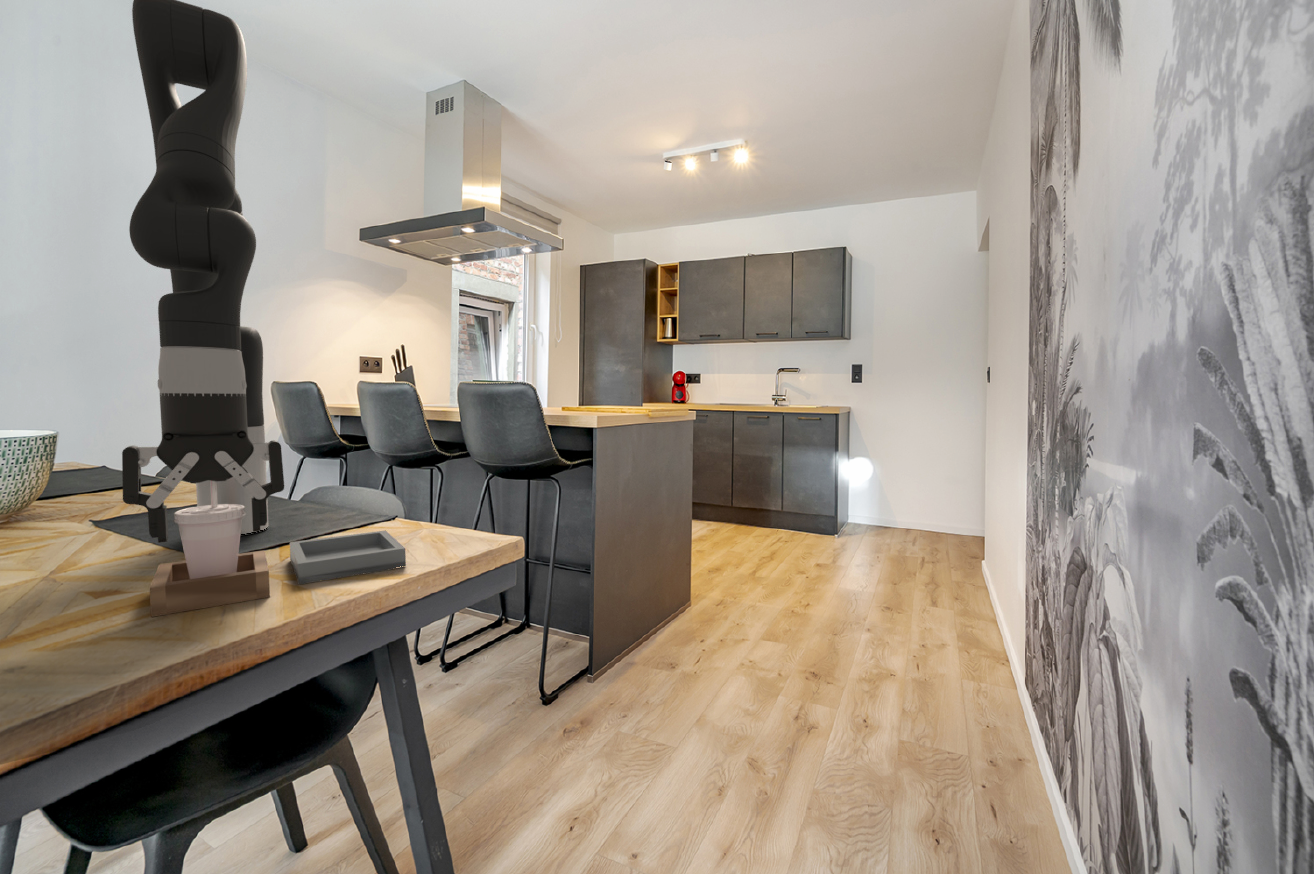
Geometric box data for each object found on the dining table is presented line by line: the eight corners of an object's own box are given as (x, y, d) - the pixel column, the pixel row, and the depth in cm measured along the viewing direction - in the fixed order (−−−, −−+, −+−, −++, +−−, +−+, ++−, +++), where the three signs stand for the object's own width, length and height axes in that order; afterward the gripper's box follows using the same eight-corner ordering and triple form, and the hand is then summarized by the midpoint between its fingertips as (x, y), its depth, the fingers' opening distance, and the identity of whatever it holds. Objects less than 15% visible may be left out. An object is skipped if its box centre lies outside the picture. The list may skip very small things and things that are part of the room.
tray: (290, 560, 78) (289, 542, 78) (385, 546, 85) (385, 530, 85) (298, 584, 68) (298, 563, 68) (405, 566, 75) (405, 548, 75)
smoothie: (262, 584, 68) (257, 468, 67) (215, 604, 61) (209, 475, 60) (213, 582, 68) (207, 466, 67) (161, 602, 62) (154, 474, 61)
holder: (160, 589, 66) (159, 563, 66) (265, 573, 72) (264, 550, 72) (151, 616, 58) (149, 588, 58) (269, 596, 64) (268, 570, 64)
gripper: (279, 391, 70) (284, 521, 72) (121, 390, 62) (130, 537, 63) (283, 391, 64) (289, 533, 66) (109, 389, 56) (120, 553, 57)
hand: (211, 535), depth 64 cm, fingers open, 8 cm apart
